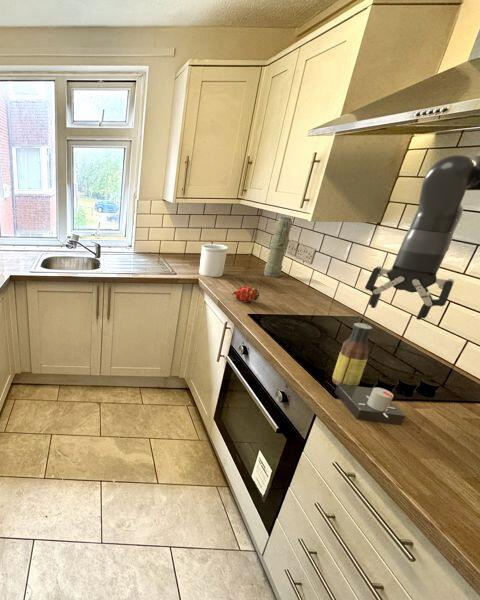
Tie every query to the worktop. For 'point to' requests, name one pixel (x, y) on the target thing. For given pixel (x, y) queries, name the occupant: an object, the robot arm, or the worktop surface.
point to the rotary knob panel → (358, 406)
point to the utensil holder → (212, 260)
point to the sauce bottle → (353, 356)
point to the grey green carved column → (278, 247)
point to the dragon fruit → (246, 294)
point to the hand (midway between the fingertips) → (395, 312)
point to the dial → (380, 399)
